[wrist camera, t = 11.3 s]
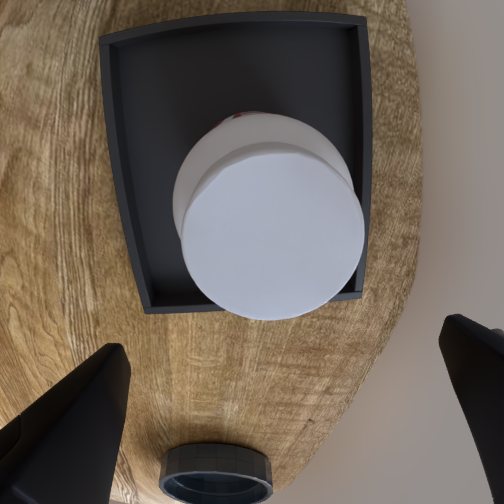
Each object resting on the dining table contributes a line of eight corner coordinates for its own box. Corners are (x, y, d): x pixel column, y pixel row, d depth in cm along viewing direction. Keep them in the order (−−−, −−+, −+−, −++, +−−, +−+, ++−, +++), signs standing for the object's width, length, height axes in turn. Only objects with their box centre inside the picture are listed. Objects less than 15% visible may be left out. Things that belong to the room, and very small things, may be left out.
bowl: (269, 437, 30) (272, 469, 26) (271, 482, 36) (273, 506, 32) (149, 438, 30) (143, 467, 26) (177, 483, 36) (174, 506, 32)
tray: (111, 42, 15) (98, 36, 13) (354, 23, 15) (366, 16, 13) (151, 298, 22) (144, 314, 20) (353, 283, 22) (361, 298, 20)
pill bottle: (230, 234, 20) (224, 369, 10) (178, 144, 17) (100, 199, 7) (324, 188, 19) (412, 286, 9) (278, 92, 16) (337, 73, 6)
